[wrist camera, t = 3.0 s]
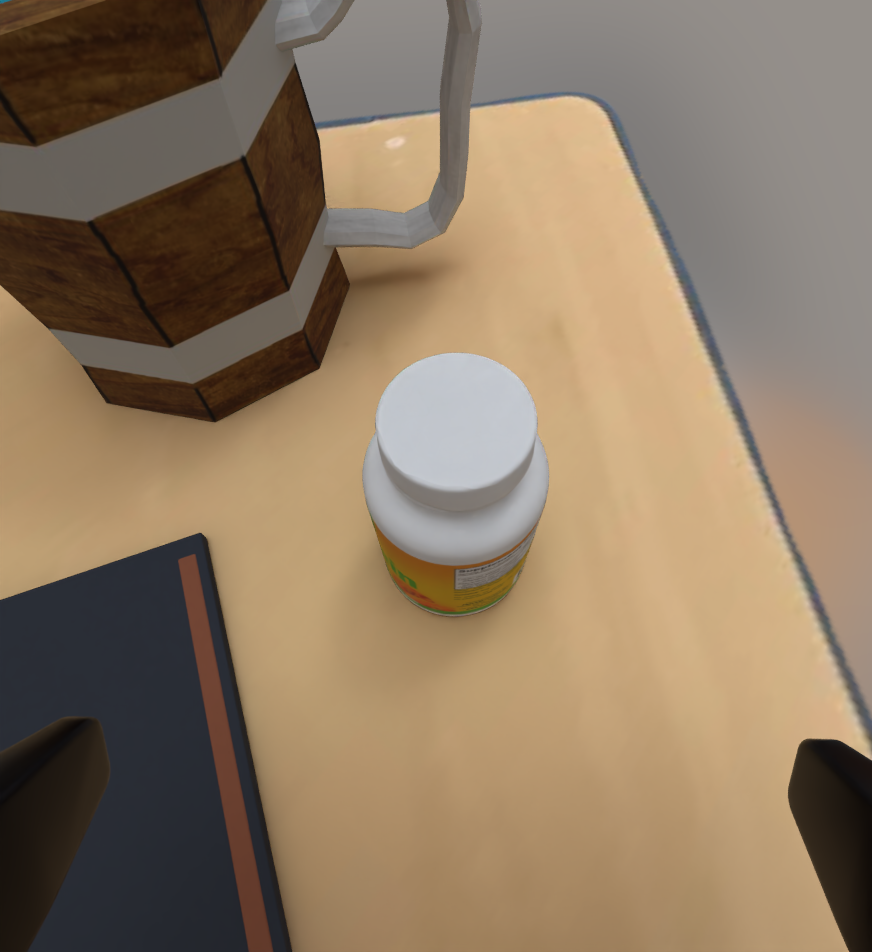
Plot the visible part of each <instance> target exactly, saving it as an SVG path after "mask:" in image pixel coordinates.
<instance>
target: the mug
mask: <svg viewBox="0 0 872 952" xmlns="http://www.w3.org/2000/svg"><path fill="white" fill-rule="evenodd" d="M446 1H447V7H448V13H449V23H448V31H447V39H446V46H445V54H444V62H443V70H442V77H441V86H440V88H441V89H440V173H439V175H438V178H437V180H436V183H435V185H434V188H433V190H432V193H431V195H430V198H429V200H428V201H427V202H425V203H423V204H421V205H419V206H417V207H415V208H413V209H411V210H409V211H407V212H405V213H398V212H391V211H384V210H378V209H327V207H326V201H325V191H324V180H323V170H322V160H321V150H320V140H319V137H318V133H317V130H316V127H315V124H314V120H313V117H312V114H311V111H310V108H309V105H308V101H307V98H306V95H305V92H304V89H303V86H302V82H301V79H300V76H299V72H298V70H297V66H296V63H295V59H294V54H293V50H292V49H293V48H297V47H300V46H304V45H307V44H311V43H314V42H318V41H321V40H324V39H325V38H326V37H327V36H328V35H329V34H330V33H331V32H332V31H333V30H334V29H335V28H336V27H337V26H338V24H339V23H340V22H341V21H342V20H343V18H344V17H345V15H346V13H347V12H348V10H349V8H350V7H351V5H352V3H353V2H354V0H0V285H1V286H2V287H3V288H4V289H5V290H6V291H8V292H9V293H10V294H11V295H12V296H13V297H14V298H15V299H16V300H17V301H18V302H20V303H21V304H22V305H23V306H24V307H25V308H26V309H27V310H28V311H29V312H31V313H32V314H33V315H34V316H35V317H36V318H37V319H38V320H39V321H40V322H42V323H43V324H44V325H45V326H46V327H47V328H48V329H49V330H50V331H51V332H52V333H53V334H54V336H55V337H56V338H57V339H58V340H59V341H60V342H61V343H62V344H63V345H64V346H65V348H66V349H67V350H68V351H69V352H70V353H71V354H72V355H73V356H74V357H75V359H76V360H77V361H78V362H79V363H80V364H81V365H82V367H83V368H84V370H85V371H86V373H87V374H88V376H89V377H90V379H91V380H92V382H93V383H94V385H95V386H96V388H97V389H98V391H99V392H100V394H101V395H102V397H103V398H104V400H105V401H106V403H110V404H116V405H121V406H127V407H133V408H138V409H144V410H150V411H155V412H161V413H167V414H173V415H178V416H184V417H190V418H195V419H201V420H207V421H212V422H216V421H218V420H220V419H222V418H223V417H225V416H227V415H229V414H231V413H233V412H235V411H237V410H239V409H241V408H243V407H245V406H247V405H249V404H251V403H252V402H254V401H256V400H258V399H260V398H262V397H264V396H266V395H268V394H270V393H272V392H274V391H276V390H278V389H280V388H281V387H283V386H285V385H287V384H289V383H291V382H293V381H295V380H297V379H299V378H301V377H303V376H305V375H307V374H309V373H310V372H312V371H314V370H316V369H318V368H319V367H320V365H321V362H322V359H323V356H324V354H325V351H326V348H327V345H328V343H329V340H330V337H331V335H332V332H333V329H334V326H335V324H336V321H337V318H338V315H339V313H340V310H341V307H342V304H343V302H344V299H345V296H346V293H347V291H348V288H349V285H350V283H349V281H348V278H347V275H346V273H345V270H344V268H343V265H342V262H341V260H340V257H339V255H338V252H337V249H336V247H385V248H403V249H413V248H415V247H417V246H419V245H421V244H423V243H425V242H427V241H429V240H431V239H433V238H435V237H437V236H439V235H441V234H443V233H445V232H446V230H447V228H448V226H449V224H450V222H451V220H452V218H453V216H454V215H455V213H456V211H457V209H458V207H459V205H460V203H461V201H462V199H463V197H464V189H465V180H466V171H467V161H468V147H469V122H470V102H471V95H472V88H473V81H474V74H475V67H476V59H477V52H478V45H479V37H480V31H481V24H482V21H481V6H480V2H479V0H446Z"/></svg>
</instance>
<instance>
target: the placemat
mask: <svg viewBox="0 0 872 952" xmlns="http://www.w3.org/2000/svg"><path fill="white" fill-rule="evenodd" d="M67 716H83V717H94V718H97V719H98V720H99V721H100V723H101V725H102V729H103V734H104V738H105V743H106V748H107V752H108V757H109V762H110V777H109V781H108V785H107V787H106V790H105V792H104V794H103V796H102V799H101V801H100V803H99V805H98V807H97V810H96V812H95V814H94V816H93V818H92V820H91V823H90V825H89V827H88V829H87V831H86V834H85V836H84V838H83V840H82V842H81V845H80V847H79V849H78V851H77V853H76V856H75V858H74V860H73V862H72V864H71V867H70V869H69V871H68V873H67V875H66V878H65V880H64V882H63V884H62V886H61V888H60V891H59V893H58V895H57V897H56V899H55V901H54V903H53V905H52V907H51V909H50V911H49V913H48V915H47V917H46V919H45V921H44V922H43V924H42V926H41V928H40V930H39V932H38V934H37V935H36V937H35V939H34V941H33V942H32V944H31V946H30V948H29V950H28V951H27V952H292V949H291V944H290V939H289V934H288V929H287V925H286V920H285V915H284V910H283V905H282V900H281V896H280V891H279V886H278V881H277V876H276V872H275V867H274V862H273V857H272V852H271V847H270V843H269V838H268V833H267V828H266V823H265V818H264V814H263V809H262V804H261V799H260V794H259V790H258V785H257V780H256V775H255V770H254V765H253V761H252V756H251V751H250V746H249V741H248V737H247V732H246V727H245V722H244V717H243V712H242V708H241V703H240V698H239V693H238V688H237V683H236V679H235V674H234V669H233V664H232V659H231V655H230V650H229V645H228V640H227V635H226V630H225V626H224V621H223V616H222V611H221V606H220V602H219V597H218V592H217V587H216V582H215V577H214V573H213V568H212V563H211V558H210V553H209V549H208V544H207V539H206V537H205V536H204V535H203V534H202V533H198V534H195V535H192V536H189V537H186V538H183V539H180V540H177V541H174V542H171V543H168V544H165V545H162V546H159V547H156V548H153V549H150V550H148V551H145V552H142V553H139V554H136V555H133V556H130V557H127V558H124V559H121V560H118V561H115V562H112V563H109V564H106V565H103V566H100V567H97V568H94V569H91V570H88V571H85V572H82V573H79V574H76V575H73V576H70V577H67V578H65V579H62V580H59V581H56V582H53V583H50V584H47V585H44V586H41V587H38V588H35V589H32V590H29V591H26V592H23V593H20V594H17V595H14V596H11V597H8V598H5V599H2V600H0V752H2V751H4V750H5V749H7V748H9V747H11V746H12V745H14V744H16V743H18V742H20V741H21V740H23V739H25V738H27V737H28V736H30V735H32V734H34V733H35V732H37V731H39V730H41V729H43V728H44V727H46V726H48V725H50V724H51V723H53V722H55V721H57V720H59V719H61V718H63V717H67Z"/></svg>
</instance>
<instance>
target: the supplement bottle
mask: <svg viewBox="0 0 872 952" xmlns="http://www.w3.org/2000/svg"><path fill="white" fill-rule="evenodd" d="M537 425H538V423H537V412H536V408H535V404H534V402H533V399H532V397H531V395H530V393H529V391H528V389H527V388H526V386H525V385H524V383H523V382H522V381H521V380H520V379H519V378H518V377H517V376H516V375H515V374H514V373H513V372H512V371H511V370H509V369H508V368H506V367H505V366H503V365H502V364H500V363H498V362H496V361H494V360H491V359H489V358H486V357H483V356H479V355H475V354H469V353H445V354H439V355H434V356H431V357H427V358H424V359H422V360H419V361H417V362H415V363H413V364H412V365H410V366H408V367H407V368H405V369H404V370H402V371H401V372H400V373H399V374H398V375H397V376H396V377H395V378H394V379H393V380H392V381H391V382H390V384H389V385H388V386H387V388H386V389H385V391H384V393H383V394H382V397H381V399H380V401H379V404H378V408H377V412H376V419H375V427H376V432H375V434H374V435H373V437H372V439H371V441H370V443H369V446H368V449H367V452H366V455H365V459H364V464H363V488H364V494H365V499H366V503H367V507H368V510H369V513H370V516H371V519H372V522H373V525H374V528H375V531H376V534H377V537H378V540H379V543H380V547H381V550H382V553H383V556H384V559H385V563H386V566H387V568H388V571H389V573H390V576H391V578H392V580H393V581H394V583H395V585H396V586H397V588H398V589H399V590H400V592H401V593H402V594H403V595H404V596H405V597H406V598H407V599H409V600H410V601H411V602H412V603H414V604H415V605H417V606H418V607H420V608H422V609H424V610H426V611H429V612H431V613H435V614H438V615H444V616H465V615H471V614H475V613H478V612H481V611H483V610H486V609H488V608H490V607H492V606H493V605H495V604H496V603H498V602H499V601H500V600H501V599H503V598H504V597H505V596H506V595H507V594H508V592H509V591H510V590H511V589H512V587H513V586H514V585H515V583H516V581H517V580H518V578H519V576H520V574H521V571H522V569H523V567H524V564H525V561H526V558H527V555H528V552H529V549H530V546H531V543H532V540H533V538H534V535H535V532H536V528H537V526H538V523H539V520H540V517H541V514H542V512H543V509H544V506H545V502H546V497H547V492H548V486H549V466H548V461H547V457H546V453H545V450H544V447H543V445H542V442H541V440H540V438H539V436H538V434H537Z"/></svg>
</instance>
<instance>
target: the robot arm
mask: <svg viewBox="0 0 872 952" xmlns="http://www.w3.org/2000/svg"><path fill="white" fill-rule="evenodd" d="M109 777H110V762H109V757H108V752H107V748H106V743H105V738H104V734H103V729H102V725H101V723H100V721H99V720H98V719H97V718H94V717H83V716H67V717H63V718H61V719H59V720H57V721H55V722H53V723H51V724H50V725H48V726H46V727H44V728H43V729H41V730H39V731H37V732H35V733H34V734H32V735H30V736H28V737H27V738H25V739H23V740H21V741H20V742H18V743H16V744H14V745H12V746H11V747H9V748H7V749H5V750H4V751H2V752H0V952H27V951H28V950H29V948H30V946H31V944H32V942H33V941H34V939H35V937H36V935H37V934H38V932H39V930H40V928H41V926H42V924H43V922H44V921H45V919H46V917H47V915H48V913H49V911H50V909H51V907H52V905H53V903H54V901H55V899H56V897H57V895H58V893H59V891H60V888H61V886H62V884H63V882H64V880H65V878H66V875H67V873H68V871H69V869H70V867H71V864H72V862H73V860H74V858H75V856H76V853H77V851H78V849H79V847H80V845H81V842H82V840H83V838H84V836H85V834H86V831H87V829H88V827H89V825H90V823H91V820H92V818H93V816H94V814H95V812H96V810H97V807H98V805H99V803H100V801H101V799H102V796H103V794H104V792H105V790H106V787H107V785H108V781H109ZM788 799H789V805H790V808H791V811H792V814H793V817H794V819H795V821H796V824H797V826H798V829H799V831H800V834H801V836H802V839H803V841H804V844H805V846H806V849H807V851H808V854H809V856H810V859H811V861H812V864H813V866H814V869H815V871H816V873H817V876H818V878H819V881H820V883H821V886H822V888H823V891H824V893H825V896H826V898H827V901H828V903H829V906H830V908H831V911H832V913H833V916H834V918H835V920H836V923H837V925H838V928H839V930H840V932H841V934H842V937H843V939H844V941H845V944H846V946H847V948H848V950H849V952H872V760H870V759H868V758H867V757H865V756H864V755H862V754H860V753H859V752H857V751H856V750H854V749H853V748H851V747H849V746H848V745H846V744H844V743H843V742H841V741H838V740H833V739H806V740H803V741H802V742H801V743H800V745H799V747H798V751H797V755H796V759H795V763H794V767H793V771H792V775H791V779H790V783H789V788H788Z"/></svg>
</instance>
